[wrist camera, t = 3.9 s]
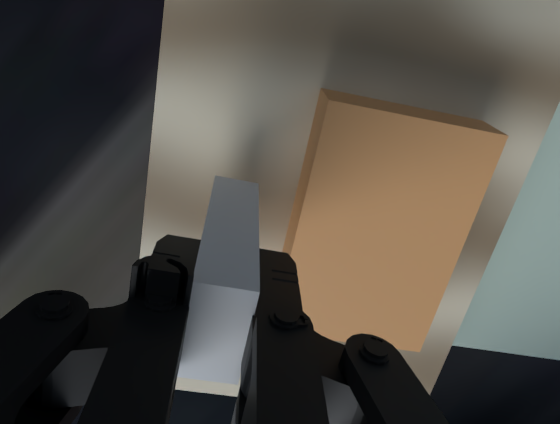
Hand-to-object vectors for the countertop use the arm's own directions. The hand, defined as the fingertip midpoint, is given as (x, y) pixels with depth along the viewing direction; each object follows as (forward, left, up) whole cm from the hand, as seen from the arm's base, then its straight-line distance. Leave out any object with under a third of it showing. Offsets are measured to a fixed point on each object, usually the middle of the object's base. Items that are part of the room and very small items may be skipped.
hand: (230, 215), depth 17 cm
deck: (0, +4, -6) cm, 7 cm away
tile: (0, +5, -2) cm, 6 cm away
